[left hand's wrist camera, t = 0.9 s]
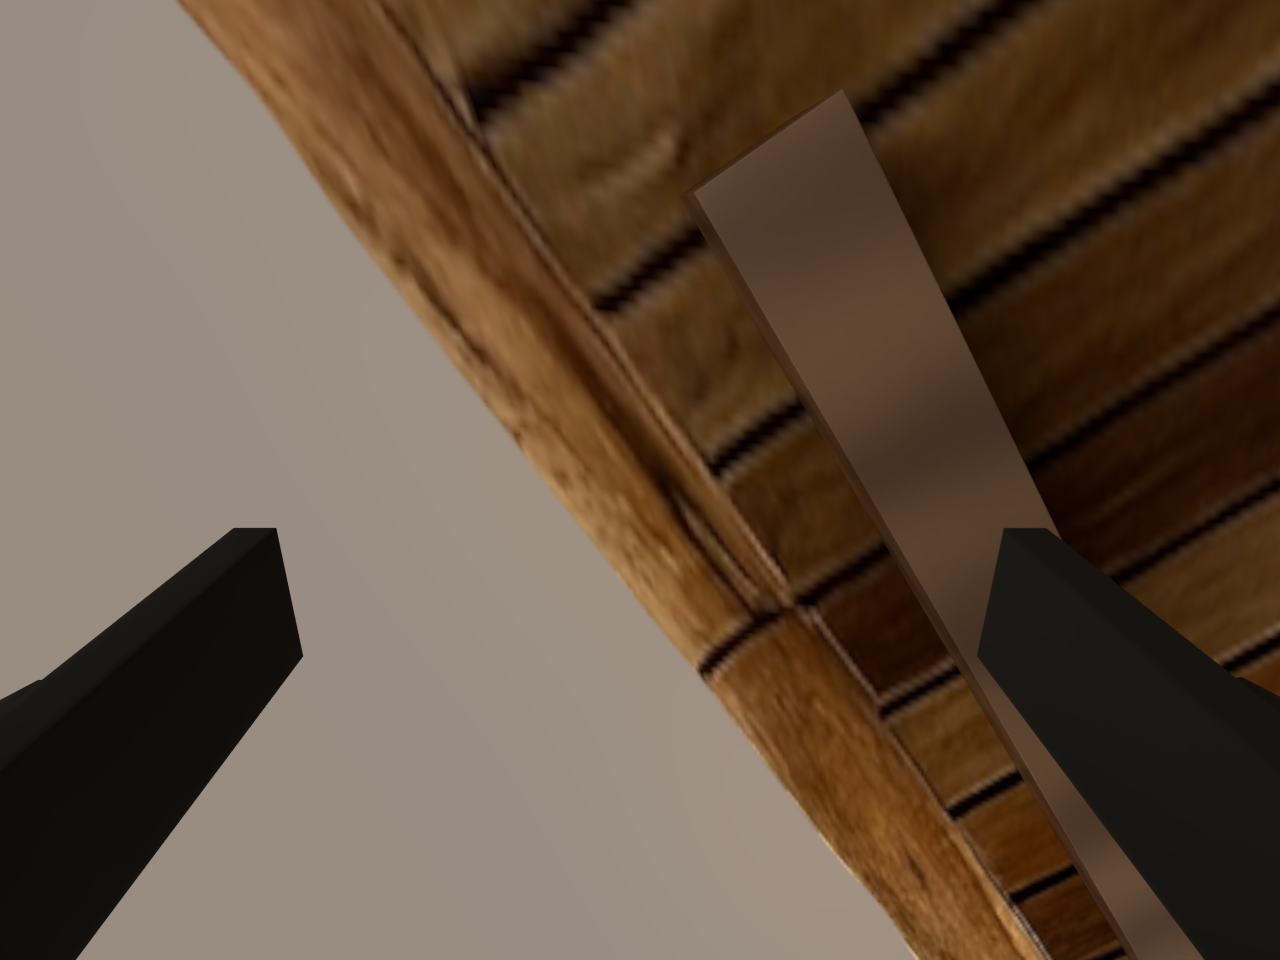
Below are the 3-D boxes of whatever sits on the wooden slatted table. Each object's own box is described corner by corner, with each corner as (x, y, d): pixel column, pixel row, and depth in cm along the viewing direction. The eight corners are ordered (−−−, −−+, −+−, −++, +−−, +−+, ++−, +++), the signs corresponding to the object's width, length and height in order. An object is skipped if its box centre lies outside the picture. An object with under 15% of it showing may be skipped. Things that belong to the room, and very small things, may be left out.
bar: (680, 195, 28) (693, 192, 21) (792, 117, 27) (843, 87, 20) (1166, 1022, 46) (1255, 1160, 40) (1243, 994, 45) (1348, 1131, 39)
